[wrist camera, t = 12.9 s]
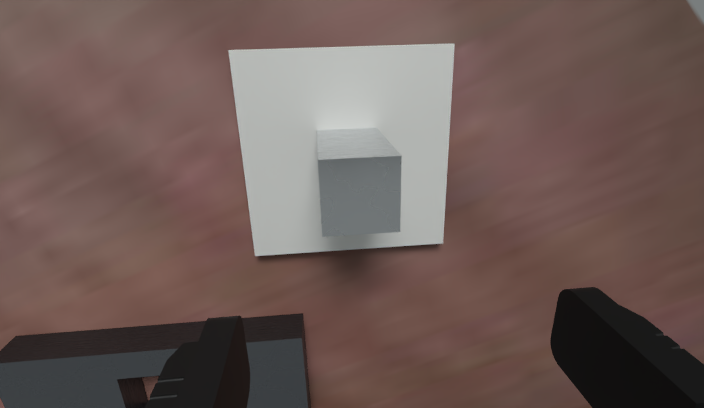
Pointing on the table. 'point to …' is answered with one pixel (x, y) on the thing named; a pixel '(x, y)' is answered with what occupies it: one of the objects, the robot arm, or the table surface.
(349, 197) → the tall gray box
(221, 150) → the table surface
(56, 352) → the dark grey flat block
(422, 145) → the off-white plate
